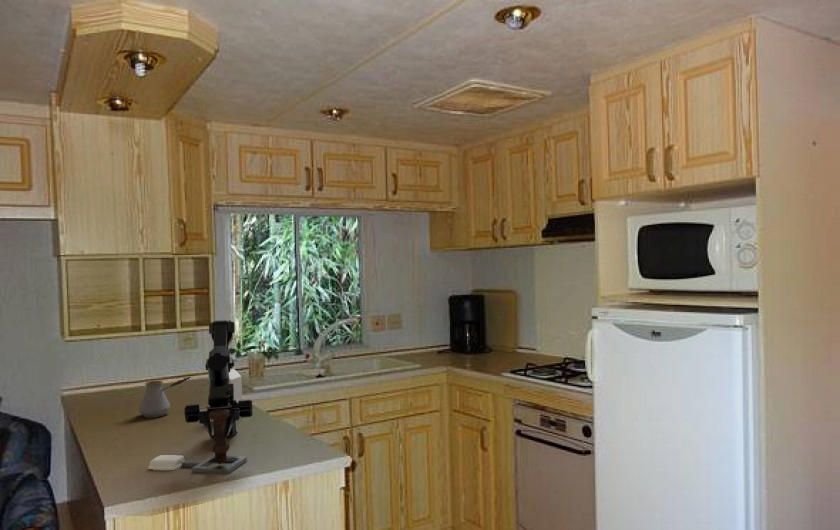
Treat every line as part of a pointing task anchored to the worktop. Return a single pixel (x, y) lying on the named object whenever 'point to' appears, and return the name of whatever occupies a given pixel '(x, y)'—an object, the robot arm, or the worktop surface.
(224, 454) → the bolt
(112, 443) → the worktop surface
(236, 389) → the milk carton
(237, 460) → the socket plate
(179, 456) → the soap
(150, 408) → the coffee pot
